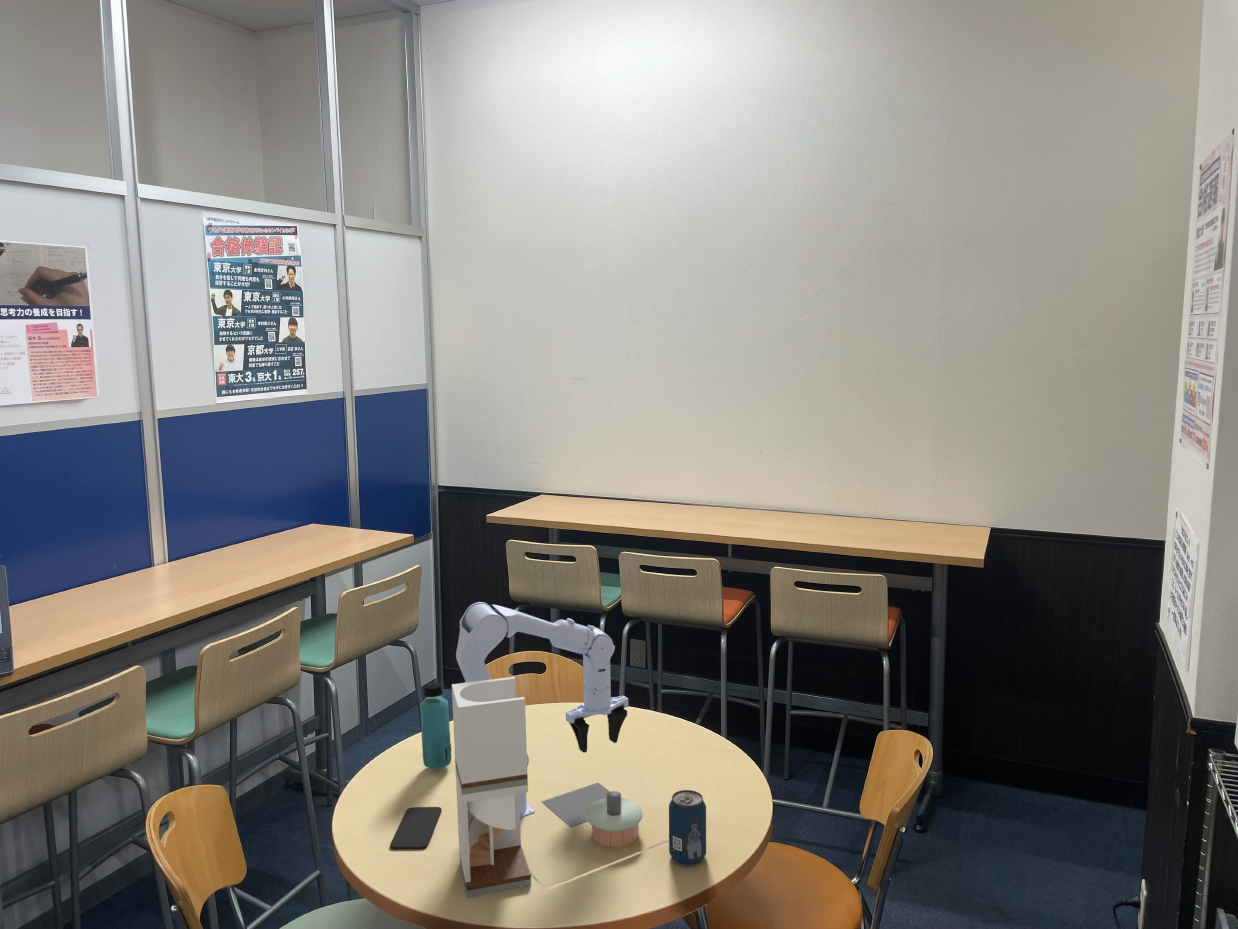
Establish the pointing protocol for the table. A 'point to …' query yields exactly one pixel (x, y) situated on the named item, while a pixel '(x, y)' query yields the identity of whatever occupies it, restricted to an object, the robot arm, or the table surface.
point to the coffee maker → (490, 784)
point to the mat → (576, 803)
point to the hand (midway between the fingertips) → (598, 746)
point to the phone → (416, 828)
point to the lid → (614, 813)
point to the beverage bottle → (435, 728)
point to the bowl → (615, 836)
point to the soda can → (687, 828)
